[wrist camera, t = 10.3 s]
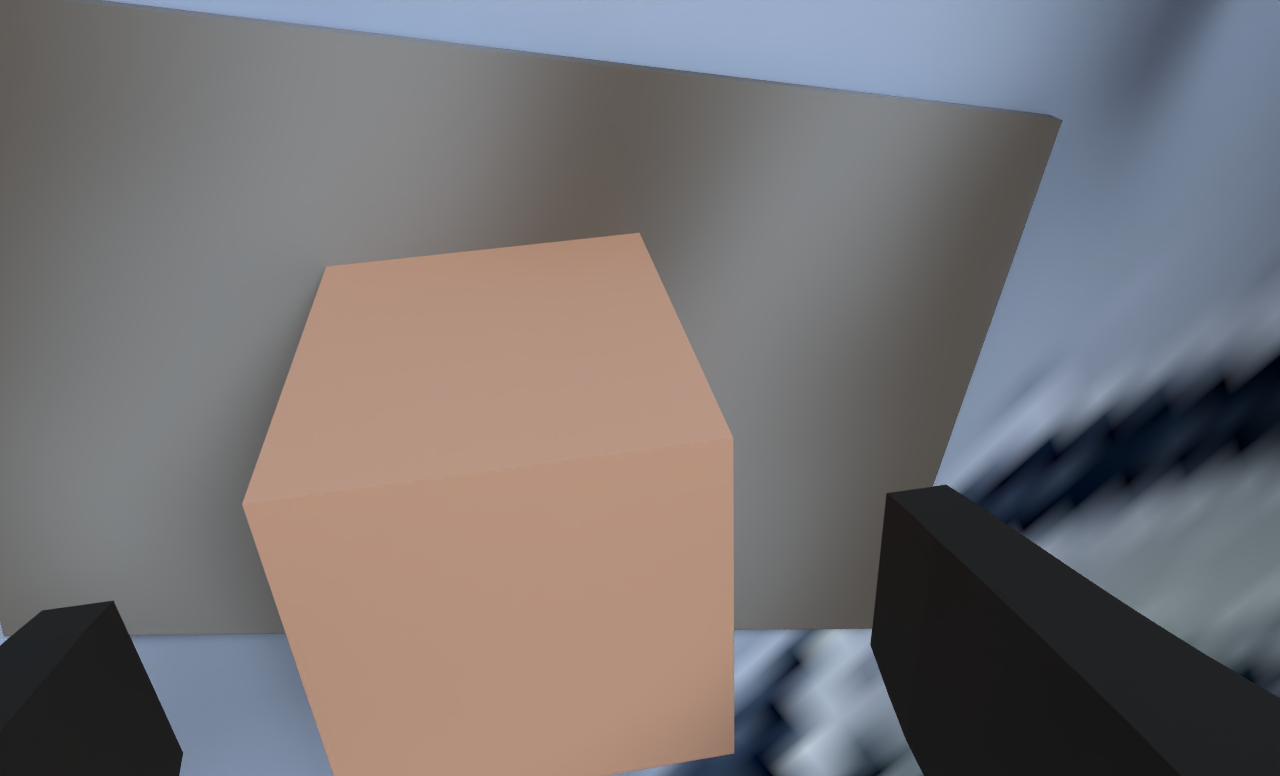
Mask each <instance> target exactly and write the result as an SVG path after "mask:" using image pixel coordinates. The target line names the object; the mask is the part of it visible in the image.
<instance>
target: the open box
mask: <svg viewBox="0 0 1280 776" xmlns="http://www.w3.org/2000/svg"><path fill="white" fill-rule="evenodd" d="M1061 122H1062V120H1060V119H1058V118H1055V117H1053V116H1051V115H1045V114H1037V113H1029V112H1020V111H1012V110H1004V109H995V108H987V107H979V106H971V105H962V104H954V103H946V102H938V101H929V100H921V99H913V98H905V97H896V96H888V95H880V94H872V93H863V92H855V91H847V90H838V89H830V88H822V87H814V86H805V85H797V84H789V83H781V82H772V81H764V80H756V79H748V78H739V77H731V76H723V75H715V74H706V73H698V72H690V71H681V70H673V69H665V68H657V67H648V66H640V65H632V64H624V63H615V62H607V61H599V60H591V59H582V58H574V57H566V56H558V55H549V54H541V53H533V52H525V51H516V50H508V49H500V48H491V47H483V46H475V45H467V44H458V43H450V42H442V41H434V40H425V39H417V38H409V37H401V36H392V35H384V34H376V33H368V32H359V31H351V30H343V29H334V28H326V27H318V26H310V25H301V24H293V23H285V22H277V21H268V20H260V19H252V18H244V17H235V16H227V15H219V14H211V13H202V12H194V11H186V10H177V9H169V8H161V7H153V6H144V5H136V4H128V3H120V2H111V1H103V0H0V622H1V626H2V630H3V634H4V636H12V635H13V634H14V633H15V632H17V631H18V630H19V629H20V628H21V627H23V626H24V625H25V624H26V623H27V622H29V621H30V620H31V619H32V618H33V617H35V616H36V615H37V614H38V613H39V612H41V611H42V610H49V609H56V608H63V607H70V606H77V605H85V604H92V603H99V602H106V601H113V600H114V603H115V605H116V607H117V609H118V611H119V614H120V616H121V618H122V620H123V622H124V625H125V627H126V629H127V631H128V633H129V635H181V634H286V633H285V630H284V627H283V624H282V621H281V618H280V615H279V612H278V609H277V606H276V603H275V600H274V597H273V594H272V591H271V588H270V585H269V582H268V580H267V577H266V574H265V571H264V568H263V565H262V562H261V559H260V556H259V553H258V550H257V547H256V544H255V541H254V538H253V535H252V532H251V529H250V526H249V523H248V520H247V517H246V514H245V511H244V509H243V506H242V503H243V500H244V497H245V494H246V492H247V489H248V486H249V483H250V480H251V477H252V475H253V472H254V469H255V466H256V463H257V460H258V458H259V455H260V452H261V449H262V446H263V444H264V441H265V438H266V435H267V432H268V429H269V427H270V424H271V421H272V418H273V415H274V412H275V410H276V407H277V404H278V401H279V398H280V395H281V393H282V390H283V387H284V384H285V381H286V378H287V376H288V373H289V370H290V367H291V364H292V362H293V359H294V356H295V353H296V350H297V347H298V345H299V342H300V339H301V336H302V333H303V330H304V328H305V325H306V322H307V319H308V316H309V313H310V311H311V308H312V305H313V302H314V299H315V296H316V294H317V291H318V288H319V285H320V282H321V280H322V277H323V274H324V271H325V268H326V267H328V266H337V265H346V264H355V263H365V262H374V261H383V260H392V259H402V258H411V257H420V256H429V255H439V254H448V253H457V252H466V251H476V250H485V249H494V248H503V247H513V246H522V245H531V244H540V243H550V242H559V241H568V240H577V239H587V238H596V237H605V236H614V235H624V234H633V233H640V235H641V237H642V239H643V242H644V244H645V246H646V248H647V250H648V253H649V255H650V257H651V259H652V261H653V264H654V266H655V268H656V270H657V272H658V274H659V277H660V279H661V281H662V283H663V285H664V288H665V290H666V292H667V294H668V296H669V298H670V301H671V303H672V305H673V307H674V309H675V312H676V314H677V316H678V318H679V320H680V323H681V325H682V327H683V329H684V331H685V333H686V336H687V338H688V340H689V342H690V344H691V347H692V349H693V351H694V353H695V355H696V357H697V360H698V362H699V364H700V366H701V368H702V371H703V373H704V375H705V377H706V379H707V382H708V384H709V386H710V388H711V390H712V392H713V395H714V397H715V399H716V401H717V403H718V406H719V408H720V410H721V412H722V414H723V416H724V419H725V421H726V423H727V425H728V427H729V430H730V432H731V434H732V436H733V494H734V630H750V629H864V628H872V626H873V617H874V607H875V598H876V588H877V579H878V569H879V559H880V550H881V540H882V531H883V521H884V512H885V502H886V493H890V492H898V491H905V490H912V489H919V488H926V487H933V484H934V481H935V478H936V475H937V473H938V470H939V467H940V464H941V461H942V458H943V456H944V453H945V450H946V447H947V444H948V441H949V439H950V436H951V433H952V430H953V427H954V424H955V422H956V419H957V416H958V413H959V410H960V408H961V405H962V402H963V399H964V396H965V393H966V391H967V388H968V385H969V382H970V379H971V376H972V374H973V371H974V368H975V365H976V362H977V360H978V357H979V354H980V351H981V348H982V345H983V343H984V340H985V337H986V334H987V331H988V328H989V326H990V323H991V320H992V317H993V314H994V311H995V309H996V306H997V303H998V300H999V297H1000V295H1001V292H1002V289H1003V286H1004V283H1005V280H1006V278H1007V275H1008V272H1009V269H1010V266H1011V263H1012V261H1013V258H1014V255H1015V252H1016V249H1017V246H1018V244H1019V241H1020V238H1021V235H1022V232H1023V230H1024V227H1025V224H1026V221H1027V218H1028V215H1029V213H1030V210H1031V207H1032V204H1033V201H1034V198H1035V196H1036V193H1037V190H1038V187H1039V184H1040V182H1041V179H1042V176H1043V173H1044V170H1045V167H1046V165H1047V162H1048V159H1049V156H1050V153H1051V150H1052V148H1053V145H1054V142H1055V139H1056V136H1057V133H1058V131H1059V128H1060V125H1061Z"/></svg>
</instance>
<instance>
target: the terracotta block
mask: <svg viewBox="0 0 1280 776" xmlns="http://www.w3.org/2000/svg"><path fill="white" fill-rule="evenodd" d="M242 506H243V509H244V511H245V514H246V517H247V520H248V523H249V526H250V529H251V532H252V535H253V538H254V541H255V544H256V547H257V550H258V553H259V556H260V559H261V562H262V565H263V568H264V571H265V574H266V577H267V580H268V582H269V585H270V588H271V591H272V594H273V597H274V600H275V603H276V606H277V609H278V612H279V615H280V618H281V621H282V624H283V627H284V630H285V633H286V636H287V639H288V642H289V645H290V648H291V651H292V654H293V656H294V659H295V662H296V665H297V668H298V671H299V674H300V677H301V680H302V683H303V686H304V689H305V692H306V695H307V698H308V701H309V704H310V707H311V710H312V713H313V716H314V719H315V722H316V725H317V728H318V730H319V733H320V736H321V739H322V742H323V745H324V748H325V751H326V754H327V757H328V760H329V763H330V766H331V769H332V772H333V775H334V776H607V775H612V774H618V773H624V772H630V771H635V770H641V769H647V768H653V767H658V766H664V765H670V764H676V763H682V762H687V761H693V760H699V759H705V758H710V757H716V756H722V755H728V754H733V753H734V494H733V436H732V434H731V432H730V430H729V427H728V425H727V423H726V421H725V419H724V416H723V414H722V412H721V410H720V408H719V406H718V403H717V401H716V399H715V397H714V395H713V392H712V390H711V388H710V386H709V384H708V382H707V379H706V377H705V375H704V373H703V371H702V368H701V366H700V364H699V362H698V360H697V357H696V355H695V353H694V351H693V349H692V347H691V344H690V342H689V340H688V338H687V336H686V333H685V331H684V329H683V327H682V325H681V323H680V320H679V318H678V316H677V314H676V312H675V309H674V307H673V305H672V303H671V301H670V298H669V296H668V294H667V292H666V290H665V288H664V285H663V283H662V281H661V279H660V277H659V274H658V272H657V270H656V268H655V266H654V264H653V261H652V259H651V257H650V255H649V253H648V250H647V248H646V246H645V244H644V242H643V239H642V237H641V235H640V233H633V234H624V235H614V236H605V237H596V238H587V239H577V240H568V241H559V242H550V243H540V244H531V245H522V246H513V247H503V248H494V249H485V250H476V251H466V252H457V253H448V254H439V255H429V256H420V257H411V258H402V259H392V260H383V261H374V262H365V263H355V264H346V265H337V266H328V267H326V268H325V271H324V274H323V277H322V280H321V282H320V285H319V288H318V291H317V294H316V296H315V299H314V302H313V305H312V308H311V311H310V313H309V316H308V319H307V322H306V325H305V328H304V330H303V333H302V336H301V339H300V342H299V345H298V347H297V350H296V353H295V356H294V359H293V362H292V364H291V367H290V370H289V373H288V376H287V378H286V381H285V384H284V387H283V390H282V393H281V395H280V398H279V401H278V404H277V407H276V410H275V412H274V415H273V418H272V421H271V424H270V427H269V429H268V432H267V435H266V438H265V441H264V444H263V446H262V449H261V452H260V455H259V458H258V460H257V463H256V466H255V469H254V472H253V475H252V477H251V480H250V483H249V486H248V489H247V492H246V494H245V497H244V500H243V503H242Z"/></svg>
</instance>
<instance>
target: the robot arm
mask: <svg viewBox="0 0 1280 776" xmlns="http://www.w3.org/2000/svg"><path fill="white" fill-rule="evenodd" d="M871 648H872V650H873V653H874V656H875V659H876V661H877V664H878V667H879V670H880V672H881V675H882V678H883V681H884V684H885V686H886V689H887V692H888V695H889V697H890V700H891V702H892V705H893V708H894V710H895V713H896V715H897V718H898V720H899V723H900V726H901V728H902V731H903V733H904V736H905V738H906V741H907V743H908V745H909V747H910V749H911V751H912V753H913V755H914V757H915V759H916V761H917V763H918V765H919V767H920V769H921V770H922V772H923V774H924V776H1280V698H1278V697H1277V696H1275V695H1273V694H1271V693H1270V692H1268V691H1266V690H1265V689H1263V688H1261V687H1260V686H1258V685H1256V684H1254V683H1253V682H1251V681H1249V680H1248V679H1246V678H1244V677H1243V676H1241V675H1239V674H1238V673H1236V672H1234V671H1232V670H1231V669H1229V668H1227V667H1226V666H1224V665H1222V664H1221V663H1219V662H1217V661H1215V660H1214V659H1212V658H1210V657H1209V656H1207V655H1205V654H1204V653H1202V652H1200V651H1199V650H1197V649H1196V648H1194V647H1192V646H1191V645H1189V644H1188V643H1186V642H1184V641H1183V640H1181V639H1180V638H1178V637H1176V636H1175V635H1173V634H1171V633H1170V632H1168V631H1167V630H1165V629H1163V628H1162V627H1160V626H1159V625H1157V624H1156V623H1154V622H1152V621H1151V620H1149V619H1148V618H1146V617H1145V616H1143V615H1141V614H1140V613H1138V612H1137V611H1135V610H1134V609H1132V608H1131V607H1129V606H1128V605H1126V604H1125V603H1123V602H1121V601H1120V600H1118V599H1117V598H1115V597H1114V596H1112V595H1111V594H1109V593H1108V592H1106V591H1105V590H1103V589H1102V588H1100V587H1099V586H1097V585H1096V584H1094V583H1093V582H1091V581H1090V580H1088V579H1087V578H1085V577H1084V576H1082V575H1081V574H1079V573H1078V572H1076V571H1075V570H1073V569H1072V568H1070V567H1069V566H1067V565H1066V564H1064V563H1063V562H1061V561H1060V560H1058V559H1057V558H1055V557H1054V556H1052V555H1051V554H1049V553H1048V552H1046V551H1045V550H1043V549H1042V548H1041V547H1039V546H1038V545H1036V544H1035V543H1033V542H1032V541H1030V540H1029V539H1027V538H1026V537H1024V536H1023V535H1021V534H1020V533H1018V532H1017V531H1016V530H1014V529H1013V528H1011V527H1010V526H1008V525H1007V524H1005V523H1004V522H1002V521H1001V520H999V519H998V518H996V517H995V516H993V515H992V514H990V513H989V512H988V511H986V510H985V509H983V508H982V507H980V506H979V505H977V504H976V503H974V502H972V501H971V500H969V499H968V498H966V497H965V496H963V495H962V494H960V493H958V492H957V491H955V490H954V489H952V488H950V487H949V486H947V485H941V486H934V487H926V488H919V489H912V490H905V491H898V492H890V493H886V502H885V512H884V521H883V531H882V540H881V550H880V559H879V569H878V579H877V588H876V598H875V607H874V617H873V626H872V636H871ZM182 756H183V752H182V750H181V747H180V745H179V743H178V741H177V739H176V736H175V734H174V732H173V730H172V728H171V725H170V723H169V721H168V719H167V717H166V714H165V712H164V710H163V708H162V706H161V703H160V701H159V699H158V697H157V695H156V693H155V690H154V688H153V686H152V684H151V682H150V679H149V677H148V675H147V673H146V671H145V668H144V666H143V664H142V662H141V660H140V657H139V655H138V653H137V651H136V649H135V646H134V644H133V642H132V640H131V638H130V636H129V633H128V631H127V629H126V627H125V625H124V622H123V620H122V618H121V616H120V614H119V611H118V609H117V607H116V605H115V603H114V600H113V601H106V602H99V603H92V604H85V605H77V606H70V607H63V608H56V609H49V610H42V611H41V612H39V613H38V614H37V615H36V616H35V617H33V618H32V619H31V620H30V621H29V622H27V623H26V624H25V625H24V626H23V627H21V628H20V629H19V630H18V631H17V632H15V633H14V634H13V635H12V636H11V637H10V638H9V639H7V640H6V641H5V642H4V643H3V644H2V645H1V646H0V776H179V773H180V767H181V762H182Z"/></svg>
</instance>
